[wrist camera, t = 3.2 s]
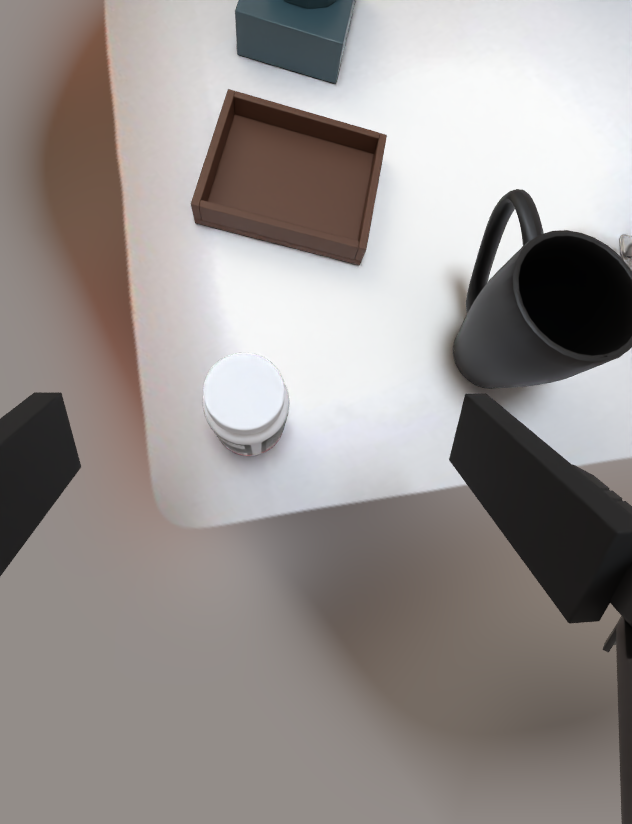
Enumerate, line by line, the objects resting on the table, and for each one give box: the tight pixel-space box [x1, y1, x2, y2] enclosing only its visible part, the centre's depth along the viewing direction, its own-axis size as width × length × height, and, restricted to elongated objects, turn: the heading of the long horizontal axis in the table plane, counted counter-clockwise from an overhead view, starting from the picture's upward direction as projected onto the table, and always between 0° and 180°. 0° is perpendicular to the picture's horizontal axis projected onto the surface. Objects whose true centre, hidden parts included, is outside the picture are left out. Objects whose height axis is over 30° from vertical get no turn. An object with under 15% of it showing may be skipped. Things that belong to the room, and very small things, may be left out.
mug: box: [453, 189, 632, 389], centre depth 27 cm, size 8×12×10 cm
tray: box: [191, 89, 387, 265], centre depth 31 cm, size 13×11×2 cm
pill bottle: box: [203, 353, 289, 456], centre depth 23 cm, size 5×5×8 cm
